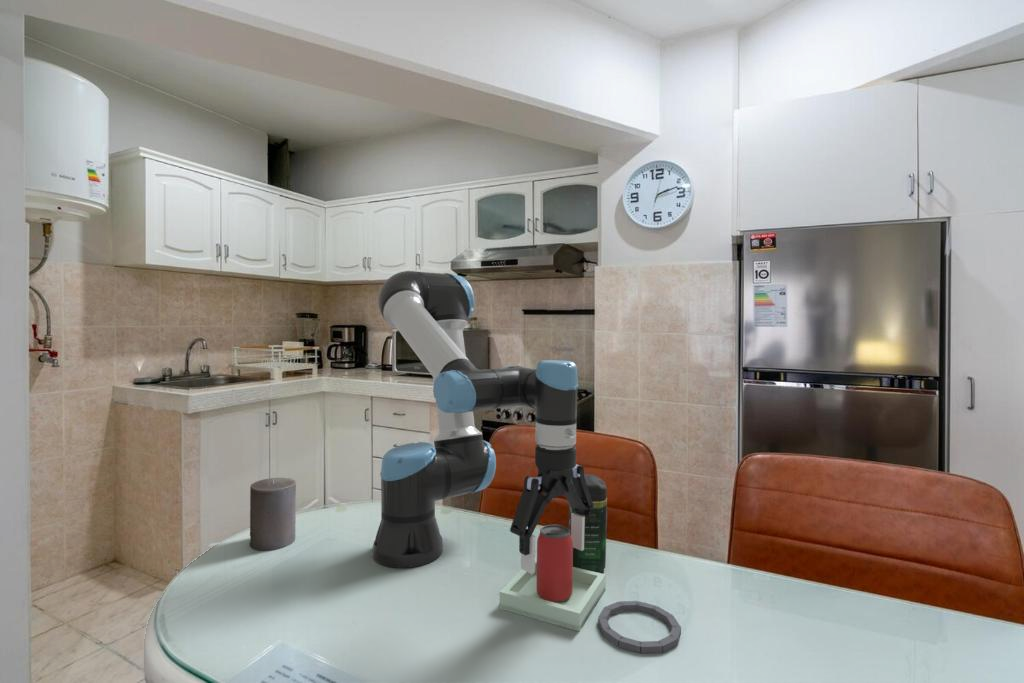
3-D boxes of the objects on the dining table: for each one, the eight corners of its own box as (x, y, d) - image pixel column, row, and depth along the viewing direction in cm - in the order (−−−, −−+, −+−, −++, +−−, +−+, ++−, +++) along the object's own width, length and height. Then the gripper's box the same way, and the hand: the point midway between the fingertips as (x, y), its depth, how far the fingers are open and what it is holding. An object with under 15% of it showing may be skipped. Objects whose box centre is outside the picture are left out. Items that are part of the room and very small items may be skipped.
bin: (499, 608, 91) (499, 591, 91) (533, 572, 104) (534, 557, 104) (579, 631, 84) (579, 613, 84) (605, 589, 97) (605, 574, 97)
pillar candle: (239, 547, 115) (239, 481, 114) (271, 530, 124) (271, 470, 123) (275, 554, 112) (275, 486, 111) (305, 536, 121) (305, 474, 121)
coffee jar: (608, 576, 103) (609, 485, 102) (568, 574, 103) (569, 483, 103) (603, 554, 112) (604, 471, 112) (567, 553, 113) (568, 470, 113)
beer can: (529, 590, 95) (530, 527, 95) (558, 582, 99) (559, 520, 98) (549, 607, 90) (550, 540, 89) (579, 597, 93) (580, 533, 93)
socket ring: (589, 638, 82) (589, 632, 82) (611, 599, 94) (611, 594, 94) (672, 662, 76) (672, 656, 76) (685, 618, 88) (685, 612, 88)
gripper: (521, 461, 82) (519, 590, 83) (613, 438, 99) (610, 545, 100) (490, 452, 87) (489, 573, 88) (582, 432, 105) (580, 533, 105)
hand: (553, 559), depth 94 cm, fingers open, 13 cm apart
